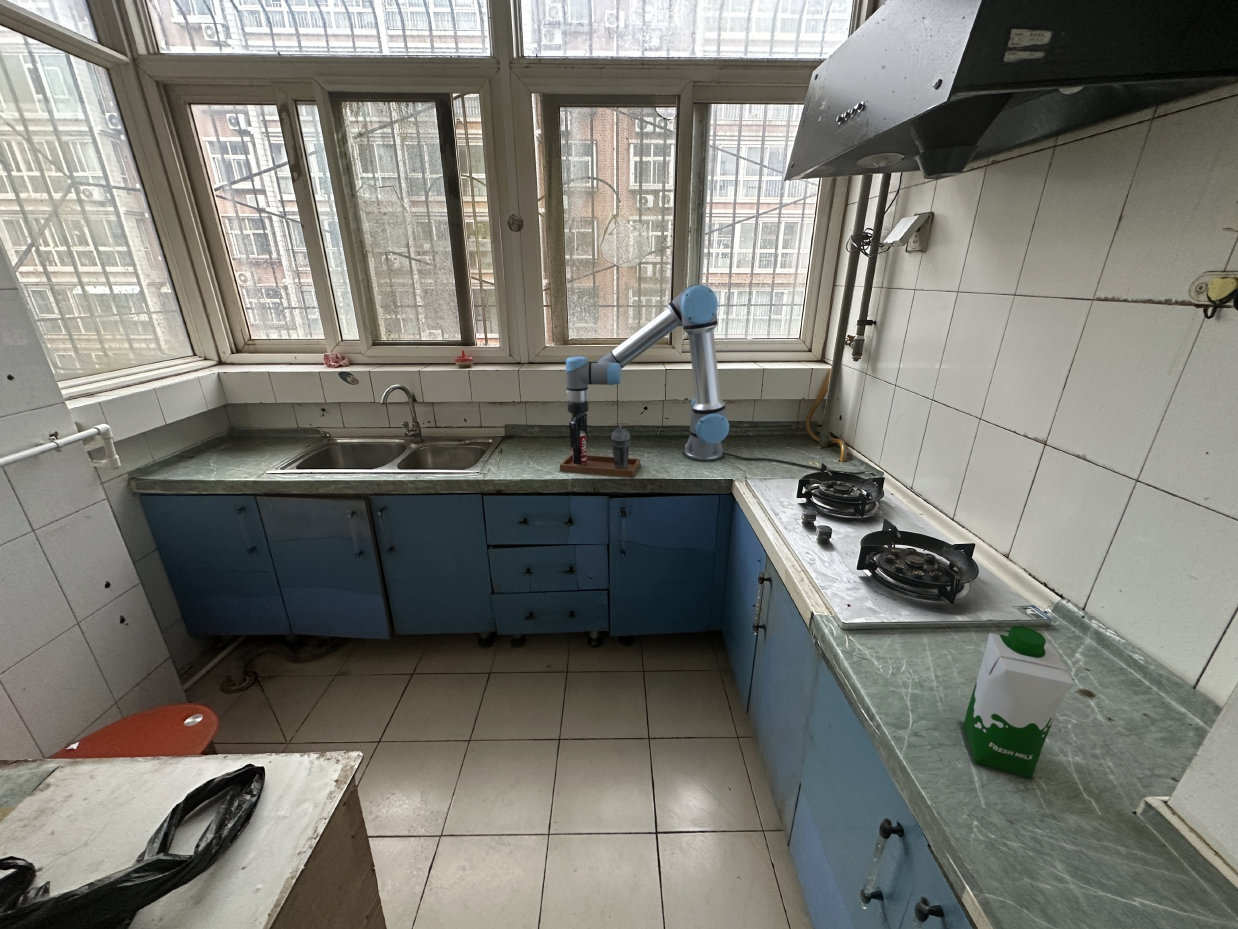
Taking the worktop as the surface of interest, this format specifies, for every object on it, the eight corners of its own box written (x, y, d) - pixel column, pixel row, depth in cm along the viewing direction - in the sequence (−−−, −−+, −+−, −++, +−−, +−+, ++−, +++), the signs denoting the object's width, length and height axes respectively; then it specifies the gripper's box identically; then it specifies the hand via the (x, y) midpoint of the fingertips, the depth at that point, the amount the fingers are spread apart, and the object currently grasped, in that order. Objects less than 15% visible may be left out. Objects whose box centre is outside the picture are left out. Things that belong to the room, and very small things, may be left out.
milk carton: (1020, 735, 78) (1059, 631, 71) (1042, 787, 70) (1089, 676, 63) (955, 719, 81) (986, 617, 74) (969, 767, 73) (1006, 659, 66)
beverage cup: (631, 465, 187) (631, 413, 180) (630, 472, 180) (629, 419, 173) (612, 464, 188) (611, 413, 181) (610, 471, 181) (609, 418, 174)
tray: (640, 465, 189) (640, 458, 188) (632, 477, 177) (632, 471, 176) (571, 459, 195) (571, 453, 194) (560, 471, 184) (559, 464, 183)
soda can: (585, 459, 191) (583, 429, 187) (588, 464, 186) (587, 433, 182) (571, 461, 189) (570, 431, 185) (575, 466, 185) (573, 435, 180)
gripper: (576, 394, 188) (578, 452, 197) (558, 406, 172) (562, 468, 180) (595, 395, 186) (596, 453, 195) (579, 407, 170) (581, 470, 178)
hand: (580, 461), depth 187 cm, fingers closed on soda can, 5 cm apart
